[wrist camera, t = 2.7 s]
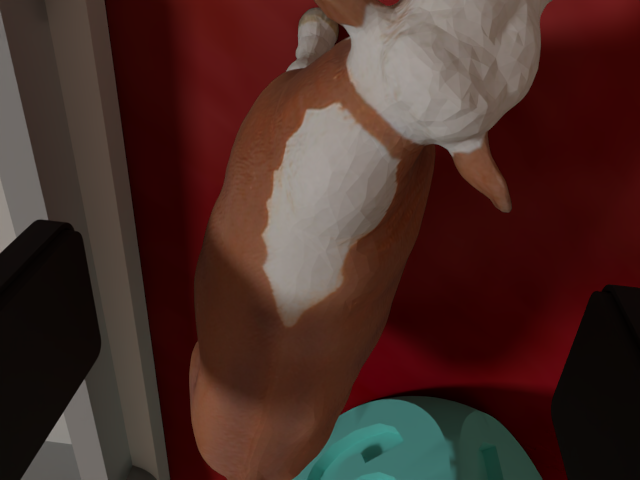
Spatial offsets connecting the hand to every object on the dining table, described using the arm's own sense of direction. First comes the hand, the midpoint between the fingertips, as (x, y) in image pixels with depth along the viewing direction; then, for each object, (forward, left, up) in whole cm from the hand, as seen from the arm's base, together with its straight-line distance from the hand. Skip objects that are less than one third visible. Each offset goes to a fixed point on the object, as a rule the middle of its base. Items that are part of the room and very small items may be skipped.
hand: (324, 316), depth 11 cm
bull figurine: (-1, 0, -7) cm, 7 cm away
